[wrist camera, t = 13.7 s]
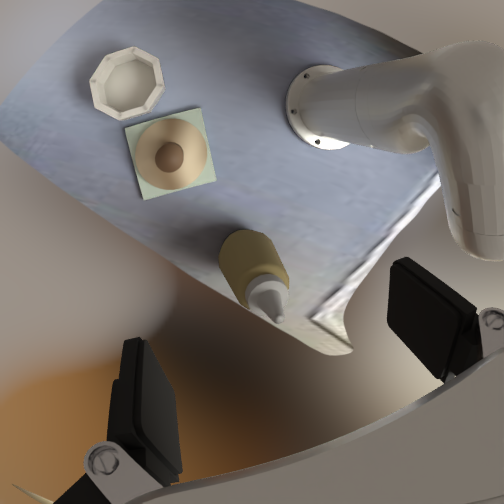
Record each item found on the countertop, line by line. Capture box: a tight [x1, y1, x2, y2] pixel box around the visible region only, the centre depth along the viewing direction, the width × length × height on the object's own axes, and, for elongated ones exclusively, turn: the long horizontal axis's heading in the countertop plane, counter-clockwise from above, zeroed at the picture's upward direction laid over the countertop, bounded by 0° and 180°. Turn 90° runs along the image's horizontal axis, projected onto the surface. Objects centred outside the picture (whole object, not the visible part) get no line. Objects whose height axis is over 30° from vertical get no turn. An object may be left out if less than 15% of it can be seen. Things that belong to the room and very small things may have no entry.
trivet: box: [125, 108, 217, 200], centre depth 38 cm, size 10×10×1 cm
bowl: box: [89, 46, 166, 121], centre depth 31 cm, size 8×8×5 cm
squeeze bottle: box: [218, 229, 289, 324], centre depth 38 cm, size 8×8×18 cm
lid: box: [135, 119, 207, 190], centre depth 35 cm, size 9×9×6 cm
